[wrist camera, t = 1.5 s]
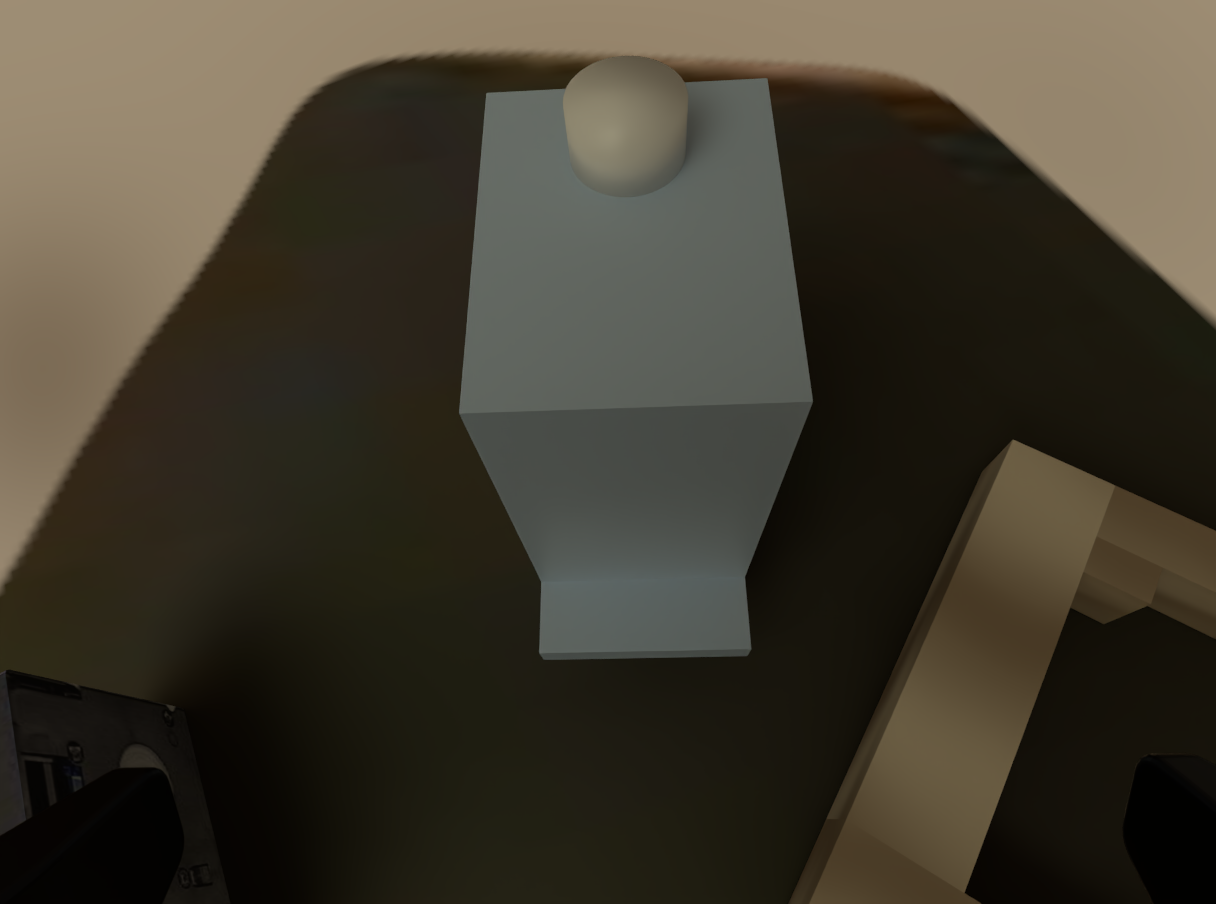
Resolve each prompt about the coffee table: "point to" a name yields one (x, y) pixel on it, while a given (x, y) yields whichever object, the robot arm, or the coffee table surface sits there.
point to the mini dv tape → (103, 763)
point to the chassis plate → (993, 669)
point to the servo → (635, 351)
